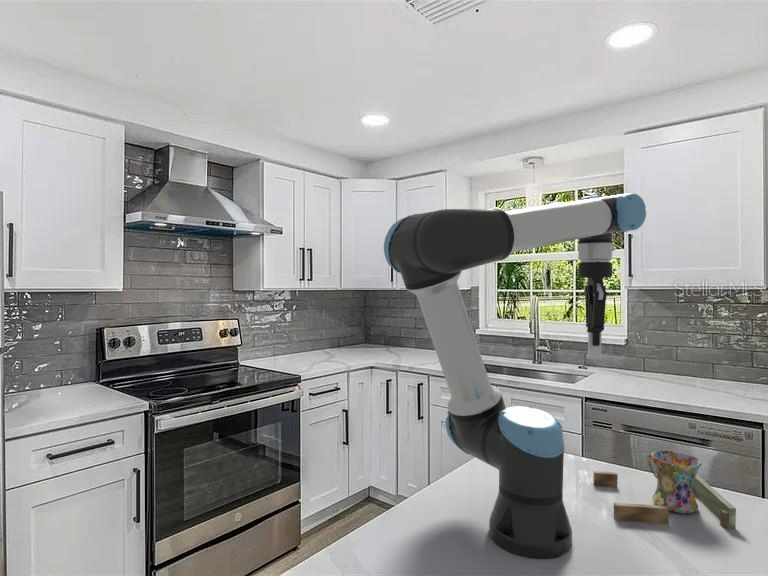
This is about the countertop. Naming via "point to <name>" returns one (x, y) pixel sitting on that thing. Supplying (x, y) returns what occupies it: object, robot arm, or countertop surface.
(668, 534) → the countertop surface
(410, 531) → the countertop surface
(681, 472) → the mug
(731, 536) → the countertop surface
